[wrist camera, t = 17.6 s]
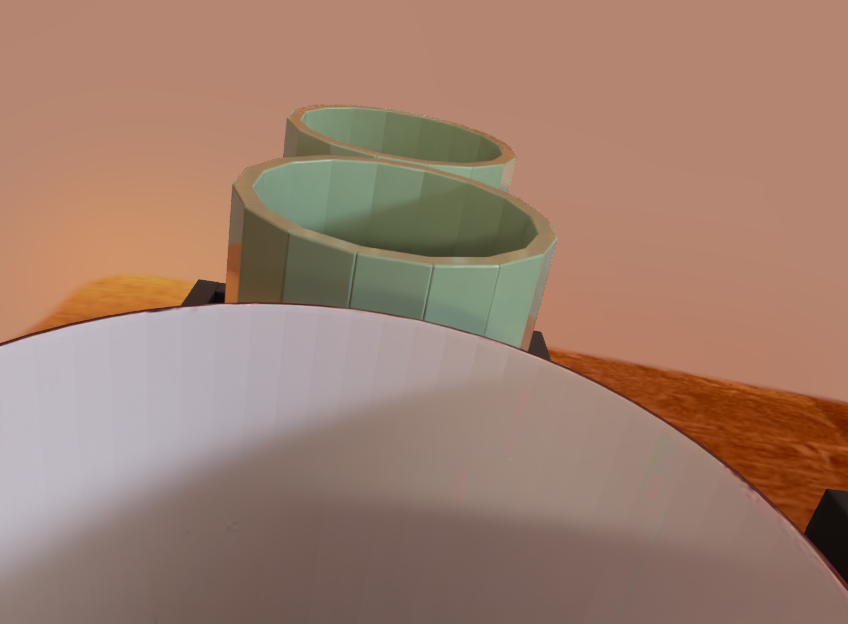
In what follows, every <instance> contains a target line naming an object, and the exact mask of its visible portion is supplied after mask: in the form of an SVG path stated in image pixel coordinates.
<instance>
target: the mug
mask: <svg viewBox="0 0 848 624" xmlns="http://www.w3.org/2000/svg"><path fill="white" fill-rule="evenodd" d="M0 624H848V584H847V583H846V582H845V581H844V579H843V578H842V577H841V576H840V574H839V573H838V572H837V571H836V570H835V568H834V567H833V566H832V565H831V563H830V562H829V561H828V560H827V559H826V557H825V556H824V555H823V554H822V553H821V552H820V551H819V550H818V549H817V547H816V546H815V545H814V544H813V543H812V542H811V541H810V540H809V539H808V538H807V537H806V536H805V535H804V534H803V532H802V531H801V530H800V529H799V528H798V527H797V526H796V525H795V524H794V523H793V522H792V521H791V520H790V519H789V518H788V517H787V516H786V515H785V514H784V513H783V512H782V511H781V510H780V509H779V508H777V507H776V506H775V505H774V504H773V503H772V502H771V501H770V500H769V499H768V498H767V497H766V496H765V495H764V494H763V493H762V492H760V491H759V490H758V489H757V488H756V487H755V486H753V485H752V484H751V483H750V482H749V481H747V480H746V479H745V478H744V477H743V476H742V475H740V474H739V473H738V472H737V471H736V470H734V469H733V468H732V467H731V466H730V465H728V464H727V463H726V462H724V461H723V460H722V459H720V458H719V457H718V456H716V455H715V454H714V453H712V452H711V451H710V450H709V449H707V448H706V447H705V446H703V445H702V444H701V443H699V442H698V441H696V440H695V439H693V438H692V437H690V436H689V435H687V434H686V433H684V432H683V431H682V430H680V429H679V428H677V427H676V426H674V425H673V424H671V423H670V422H668V421H667V420H665V419H663V418H662V417H660V416H658V415H657V414H655V413H653V412H652V411H650V410H648V409H647V408H645V407H644V406H642V405H640V404H639V403H637V402H635V401H633V400H631V399H629V398H628V397H626V396H624V395H622V394H620V393H618V392H617V391H615V390H613V389H611V388H609V387H607V386H605V385H603V384H601V383H599V382H597V381H595V380H593V379H591V378H589V377H587V376H585V375H583V374H581V373H579V372H577V371H574V370H572V369H570V368H567V367H565V366H563V365H560V364H558V363H556V362H553V361H551V360H549V359H546V358H544V357H541V356H539V355H536V354H533V353H531V352H528V351H525V350H523V349H520V348H517V347H515V346H512V345H509V344H506V343H503V342H500V341H497V340H494V339H491V338H488V337H485V336H482V335H478V334H474V333H471V332H467V331H464V330H460V329H457V328H453V327H449V326H445V325H441V324H437V323H432V322H428V321H424V320H420V319H415V318H409V317H404V316H399V315H394V314H388V313H382V312H375V311H369V310H362V309H355V308H346V307H336V306H327V305H315V304H299V303H273V302H238V303H210V304H196V305H181V306H173V307H164V308H155V309H146V310H140V311H134V312H127V313H121V314H115V315H109V316H104V317H99V318H94V319H89V320H84V321H80V322H75V323H70V324H66V325H62V326H58V327H55V328H51V329H47V330H43V331H39V332H35V333H31V334H28V335H25V336H22V337H18V338H15V339H12V340H9V341H6V342H2V343H0Z"/></svg>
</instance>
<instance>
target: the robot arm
mask: <svg viewBox="0 0 848 624" xmlns="http://www.w3.org/2000/svg"><path fill="white" fill-rule="evenodd" d="M804 535H805V536H806V537H807V538H808V539H809V540H810V541H811V542H812V543H813V544H814V545H815V546H816V547H817V549H818V550H819V551H820V552H821V553H822V554H823V555H824V556H825V557H826V559H827V560H828V561H829V562H830V563H831V565H832V566H833V567H834V568H835V570H836V571H837V572H838V573H839V574H840V576H841V577H842V578H843V579H844V581H845V582H846V583H847V584H848V492H846V491H838V490H831V489H826V491H825V493H824V495H823V497H822V499H821V501H820V503H819V505H818V507H817V509H816V511H815V513H814V515H813V517H812V519H811V521H810V522H809V524H808V526H807V528H806V530H805V532H804Z"/></svg>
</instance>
